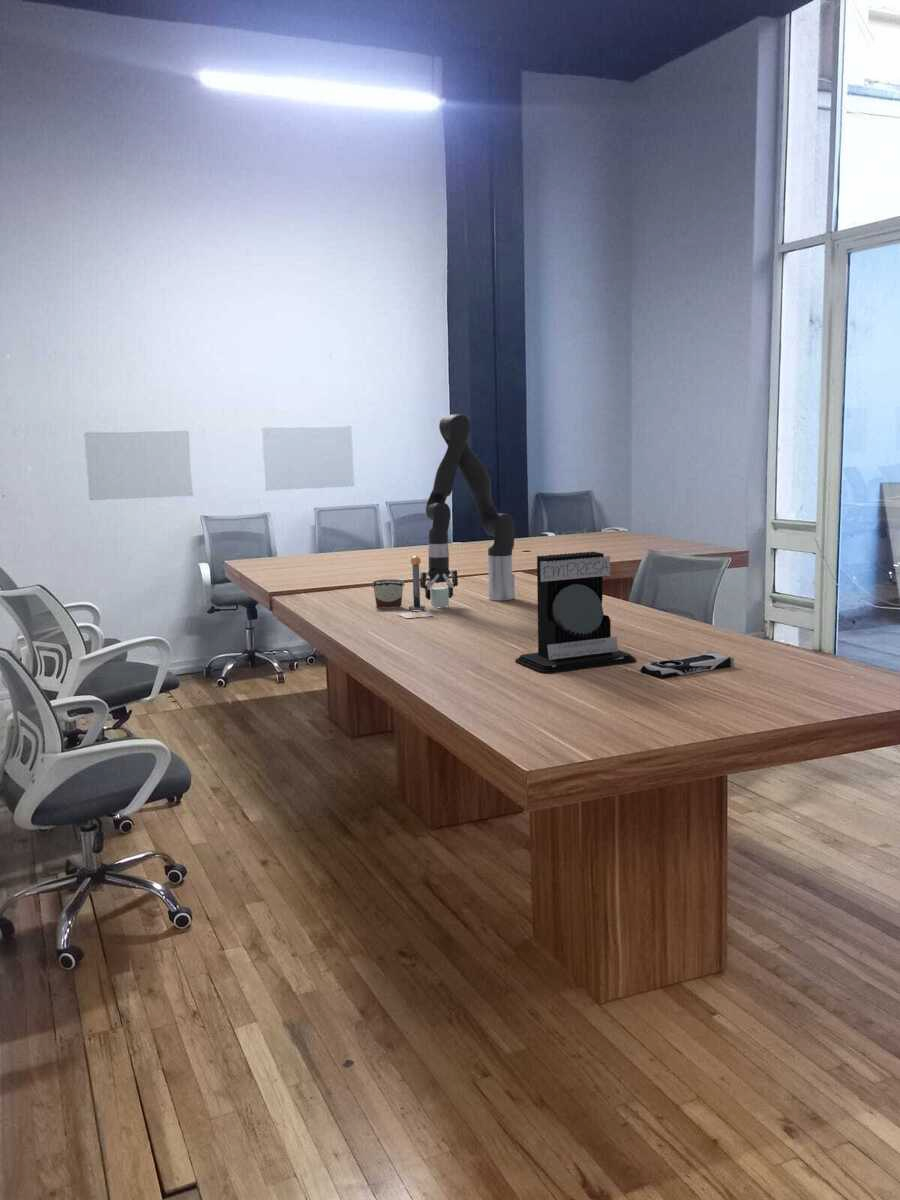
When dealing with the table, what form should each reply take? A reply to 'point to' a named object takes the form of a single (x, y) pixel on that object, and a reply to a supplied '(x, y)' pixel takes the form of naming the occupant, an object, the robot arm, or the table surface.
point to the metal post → (416, 584)
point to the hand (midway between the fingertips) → (439, 598)
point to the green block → (440, 597)
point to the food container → (388, 592)
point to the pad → (414, 614)
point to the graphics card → (687, 665)
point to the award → (573, 615)
